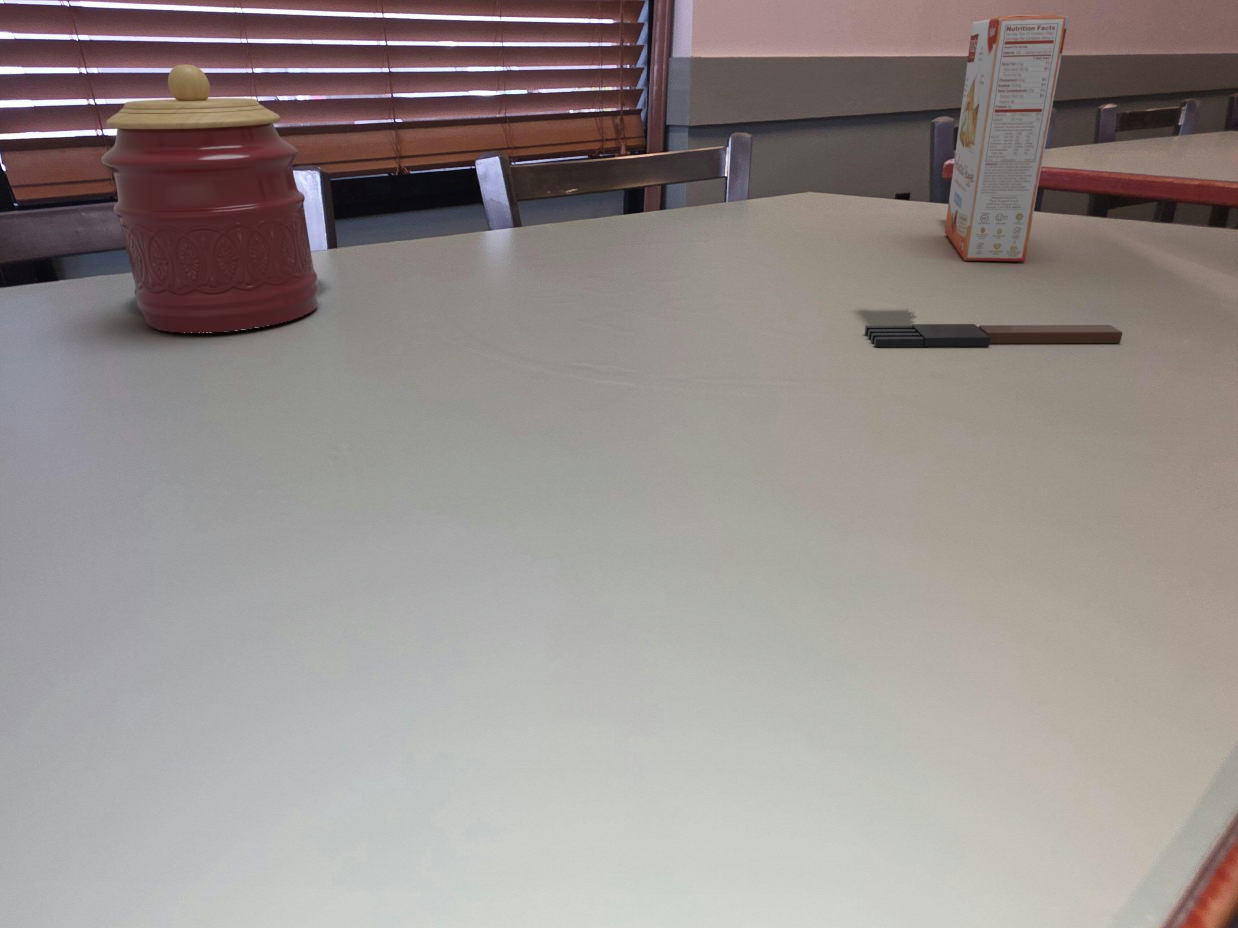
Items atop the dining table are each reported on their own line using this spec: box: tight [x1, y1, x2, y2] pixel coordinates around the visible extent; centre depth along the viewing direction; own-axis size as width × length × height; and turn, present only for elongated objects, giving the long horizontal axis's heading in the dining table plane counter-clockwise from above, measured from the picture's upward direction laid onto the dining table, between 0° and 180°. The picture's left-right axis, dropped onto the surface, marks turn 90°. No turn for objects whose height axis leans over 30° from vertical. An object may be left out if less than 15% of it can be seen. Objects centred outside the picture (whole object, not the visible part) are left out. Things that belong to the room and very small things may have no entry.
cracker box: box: [944, 14, 1069, 262], centre depth 83 cm, size 14×6×21 cm, turn 168°
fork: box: [864, 323, 1123, 348], centre depth 59 cm, size 17×3×1 cm, turn 89°
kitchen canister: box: [100, 63, 320, 334], centre depth 64 cm, size 13×13×18 cm
